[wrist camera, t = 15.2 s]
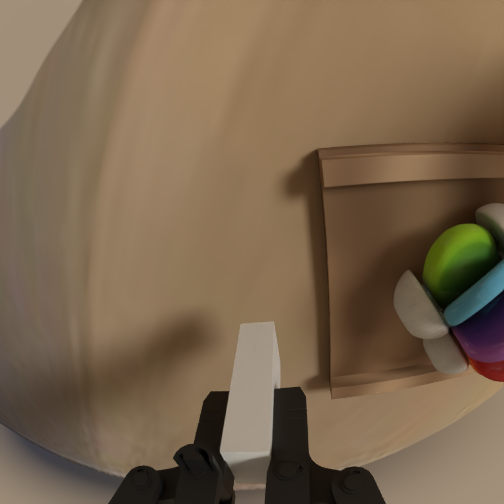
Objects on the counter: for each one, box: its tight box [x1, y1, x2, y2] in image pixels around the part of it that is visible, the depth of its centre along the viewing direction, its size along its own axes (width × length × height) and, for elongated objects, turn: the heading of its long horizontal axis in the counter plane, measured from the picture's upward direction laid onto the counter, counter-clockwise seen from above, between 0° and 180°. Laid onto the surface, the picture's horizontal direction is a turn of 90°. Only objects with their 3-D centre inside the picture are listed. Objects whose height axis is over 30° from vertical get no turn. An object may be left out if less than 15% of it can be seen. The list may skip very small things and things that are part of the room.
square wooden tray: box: [317, 143, 504, 399], centre depth 15 cm, size 16×16×4 cm
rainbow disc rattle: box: [394, 203, 504, 382], centre depth 13 cm, size 8×10×7 cm
